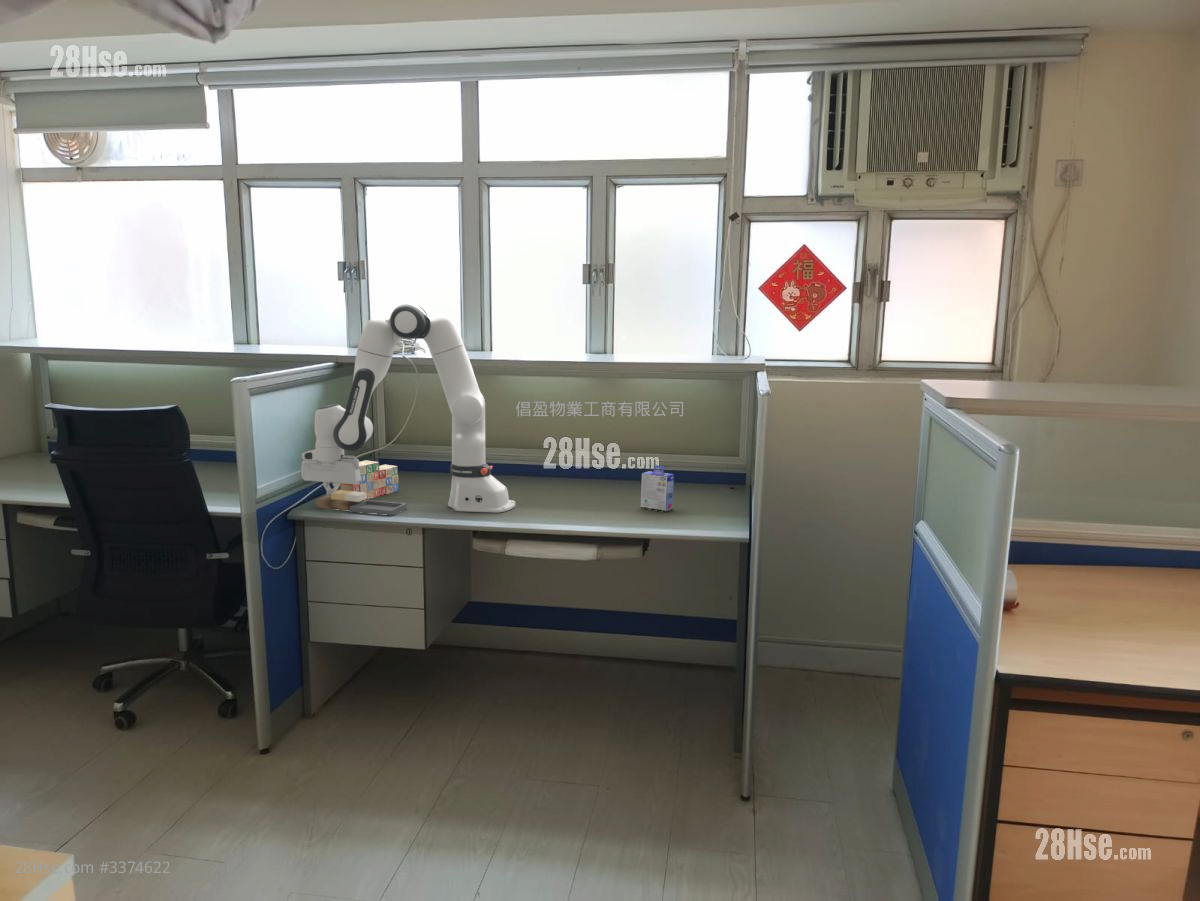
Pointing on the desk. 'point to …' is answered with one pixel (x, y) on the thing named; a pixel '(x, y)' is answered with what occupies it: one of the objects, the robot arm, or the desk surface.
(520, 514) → the desk surface
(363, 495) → the cream tile
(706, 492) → the desk surface
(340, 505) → the walnut ledge
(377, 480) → the stack of blocks
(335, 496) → the ochre tile
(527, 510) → the desk surface
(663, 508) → the ink cartridge box
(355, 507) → the tray
